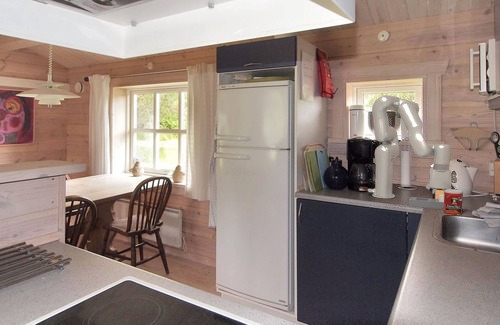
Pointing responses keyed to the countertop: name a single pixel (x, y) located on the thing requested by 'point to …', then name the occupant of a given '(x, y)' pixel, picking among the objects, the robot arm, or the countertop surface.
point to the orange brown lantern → (438, 192)
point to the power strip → (427, 202)
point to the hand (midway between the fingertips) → (439, 200)
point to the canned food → (453, 201)
